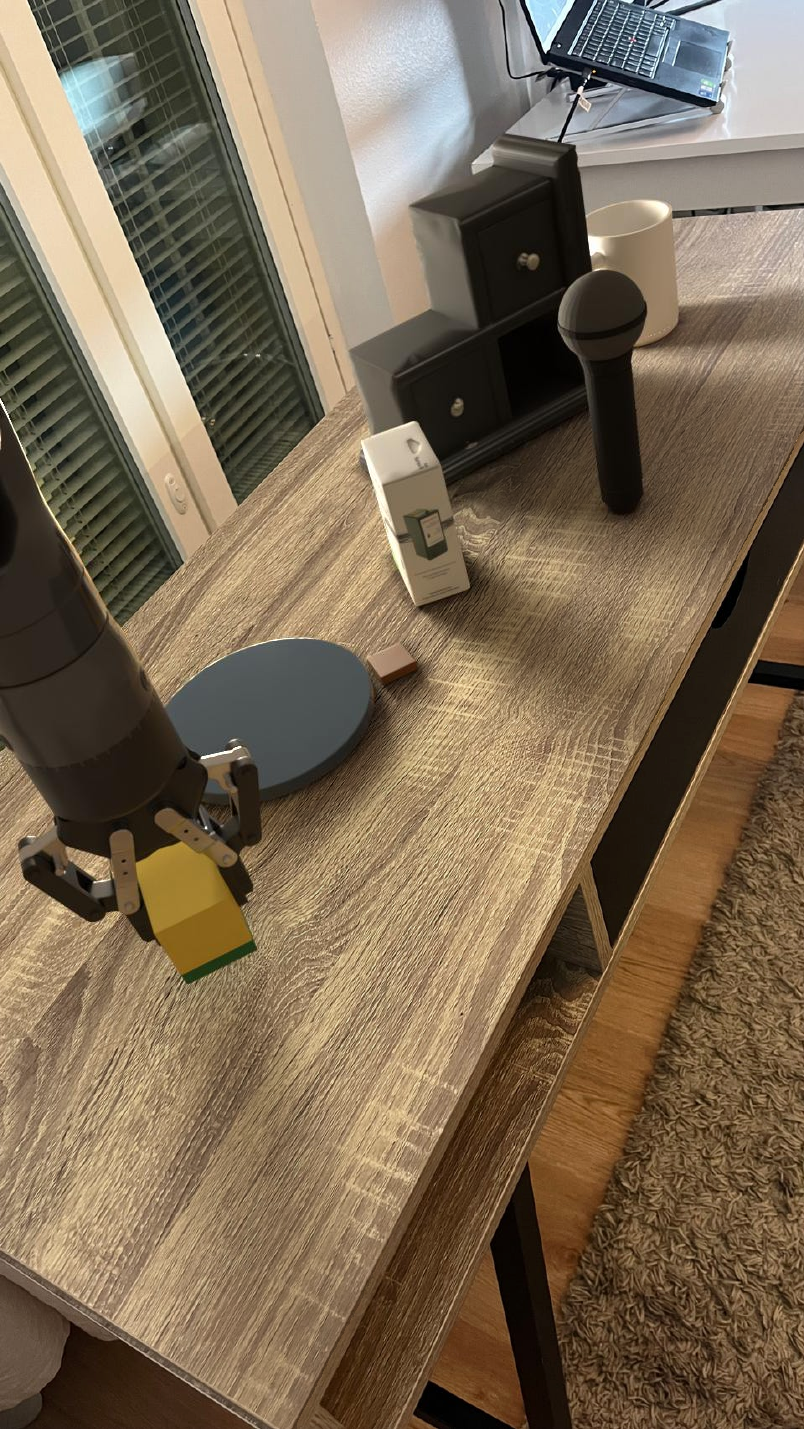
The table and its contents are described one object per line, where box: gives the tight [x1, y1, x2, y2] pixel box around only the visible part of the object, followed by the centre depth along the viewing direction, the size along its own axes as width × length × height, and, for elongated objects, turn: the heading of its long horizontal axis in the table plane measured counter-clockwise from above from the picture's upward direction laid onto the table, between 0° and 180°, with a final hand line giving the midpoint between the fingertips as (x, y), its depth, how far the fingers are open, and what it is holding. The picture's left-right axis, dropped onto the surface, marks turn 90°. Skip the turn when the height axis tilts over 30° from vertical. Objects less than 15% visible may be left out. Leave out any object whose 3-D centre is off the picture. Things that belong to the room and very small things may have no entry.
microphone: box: [557, 270, 648, 516], centre depth 84 cm, size 7×7×20 cm
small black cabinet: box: [346, 132, 593, 486], centre depth 98 cm, size 23×11×24 cm, turn 122°
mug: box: [585, 198, 680, 348], centre depth 110 cm, size 10×12×12 cm
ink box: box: [360, 421, 471, 607], centre depth 87 cm, size 9×5×12 cm, turn 14°
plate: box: [164, 637, 376, 806], centre depth 81 cm, size 17×17×1 cm
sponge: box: [136, 841, 258, 985], centre depth 64 cm, size 4×7×5 cm, turn 23°
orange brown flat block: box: [366, 641, 419, 686], centre depth 82 cm, size 3×3×1 cm
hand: (200, 914), depth 64 cm, fingers closed on sponge, 4 cm apart
